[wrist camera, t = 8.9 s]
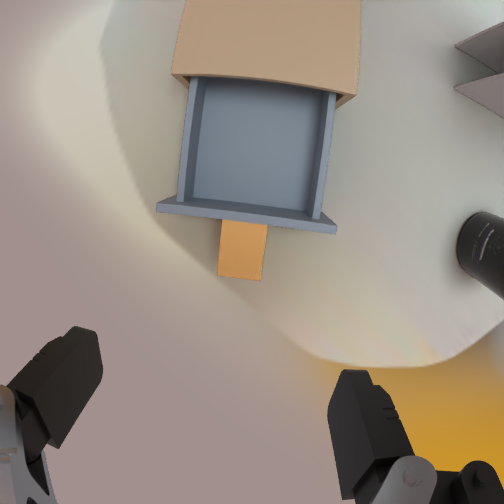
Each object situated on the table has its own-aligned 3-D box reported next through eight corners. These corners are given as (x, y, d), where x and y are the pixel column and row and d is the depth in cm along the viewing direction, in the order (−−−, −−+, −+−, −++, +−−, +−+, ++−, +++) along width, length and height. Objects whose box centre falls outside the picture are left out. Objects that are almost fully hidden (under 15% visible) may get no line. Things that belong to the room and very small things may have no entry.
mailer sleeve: (220, -45, 18) (211, -80, 12) (344, -31, 18) (359, -63, 12) (191, 92, 22) (170, 73, 17) (335, 109, 22) (356, 94, 16)
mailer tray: (202, 25, 20) (188, -4, 15) (342, 41, 20) (360, 15, 15) (175, 246, 26) (154, 267, 21) (312, 264, 26) (324, 290, 21)
